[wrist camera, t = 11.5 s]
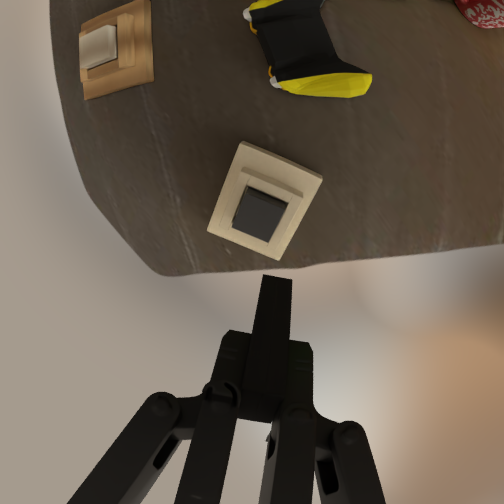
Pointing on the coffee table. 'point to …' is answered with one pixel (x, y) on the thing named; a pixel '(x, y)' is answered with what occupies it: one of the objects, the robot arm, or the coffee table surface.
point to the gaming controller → (303, 50)
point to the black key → (258, 215)
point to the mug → (483, 12)
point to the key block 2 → (271, 183)
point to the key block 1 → (122, 51)
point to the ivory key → (98, 47)
